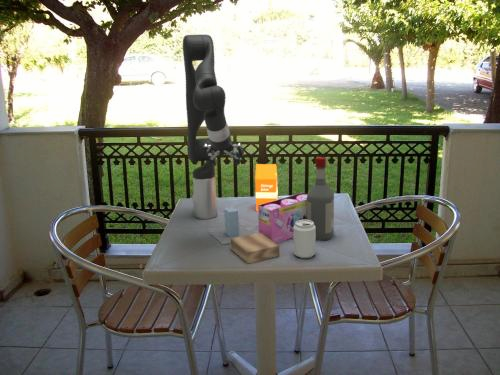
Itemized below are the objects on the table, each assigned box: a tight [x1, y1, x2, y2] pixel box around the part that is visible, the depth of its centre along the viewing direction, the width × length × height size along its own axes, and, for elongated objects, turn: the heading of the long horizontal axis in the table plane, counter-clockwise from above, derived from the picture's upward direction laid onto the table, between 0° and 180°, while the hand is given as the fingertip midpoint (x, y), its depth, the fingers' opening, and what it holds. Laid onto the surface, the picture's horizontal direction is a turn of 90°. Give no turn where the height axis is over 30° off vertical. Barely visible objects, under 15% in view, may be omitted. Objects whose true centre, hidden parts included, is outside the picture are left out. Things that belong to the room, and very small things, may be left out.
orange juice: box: [254, 163, 279, 212], centre depth 224 cm, size 8×9×20 cm
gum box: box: [257, 192, 308, 244], centre depth 196 cm, size 24×8×14 cm, turn 127°
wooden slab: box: [230, 232, 280, 265], centre depth 181 cm, size 12×14×4 cm
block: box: [223, 206, 240, 237], centre depth 197 cm, size 4×5×10 cm
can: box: [293, 220, 317, 259], centre depth 177 cm, size 8×8×12 cm
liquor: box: [307, 156, 335, 242], centre depth 190 cm, size 9×9×30 cm
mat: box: [208, 224, 254, 246], centre depth 198 cm, size 14×14×1 cm
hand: (226, 163), depth 194 cm, fingers open, 8 cm apart
